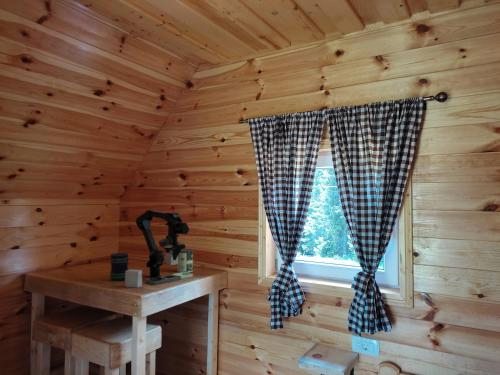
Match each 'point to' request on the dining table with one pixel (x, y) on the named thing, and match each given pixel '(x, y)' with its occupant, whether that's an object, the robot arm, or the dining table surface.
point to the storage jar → (118, 266)
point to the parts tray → (183, 275)
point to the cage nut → (171, 258)
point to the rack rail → (163, 279)
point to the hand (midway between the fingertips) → (172, 259)
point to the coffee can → (185, 261)
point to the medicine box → (133, 278)
